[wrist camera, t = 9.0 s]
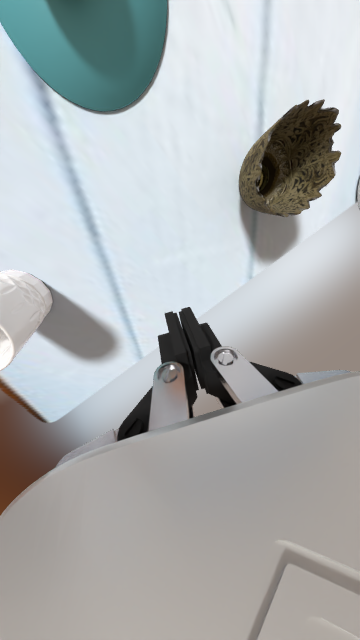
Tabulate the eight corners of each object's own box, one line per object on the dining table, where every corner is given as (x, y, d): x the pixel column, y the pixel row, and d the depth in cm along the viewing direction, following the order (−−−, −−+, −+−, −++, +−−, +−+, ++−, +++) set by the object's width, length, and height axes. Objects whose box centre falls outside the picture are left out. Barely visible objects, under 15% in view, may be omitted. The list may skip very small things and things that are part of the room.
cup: (280, 200, 23) (339, 194, 16) (230, 227, 23) (267, 231, 17) (275, 125, 19) (349, 75, 12) (214, 158, 19) (254, 126, 13)
